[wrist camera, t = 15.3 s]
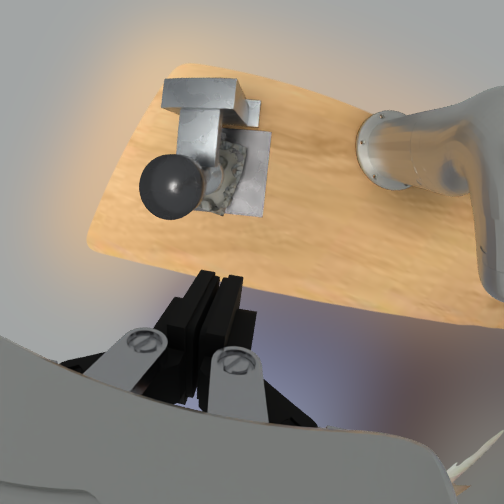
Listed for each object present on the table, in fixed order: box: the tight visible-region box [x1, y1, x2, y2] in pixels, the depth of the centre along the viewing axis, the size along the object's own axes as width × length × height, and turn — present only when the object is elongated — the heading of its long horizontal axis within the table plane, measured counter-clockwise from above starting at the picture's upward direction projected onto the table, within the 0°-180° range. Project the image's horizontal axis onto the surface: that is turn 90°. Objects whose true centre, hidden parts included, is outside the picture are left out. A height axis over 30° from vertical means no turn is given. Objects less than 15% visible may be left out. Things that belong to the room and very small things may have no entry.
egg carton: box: [198, 140, 246, 216], centre depth 41 cm, size 11×8×4 cm
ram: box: [139, 154, 225, 220], centre depth 27 cm, size 5×5×13 cm
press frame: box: [161, 78, 272, 217], centre depth 34 cm, size 14×18×17 cm
